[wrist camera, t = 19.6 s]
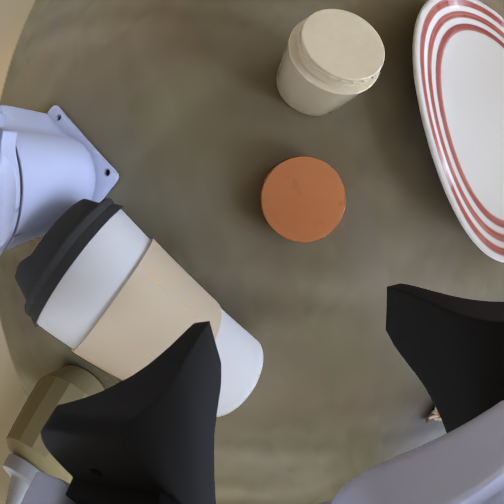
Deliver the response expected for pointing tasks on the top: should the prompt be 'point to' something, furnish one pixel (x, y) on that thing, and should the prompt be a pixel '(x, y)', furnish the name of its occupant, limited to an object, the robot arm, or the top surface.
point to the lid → (302, 199)
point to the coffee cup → (126, 299)
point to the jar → (329, 61)
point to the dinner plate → (465, 111)
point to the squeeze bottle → (33, 420)
